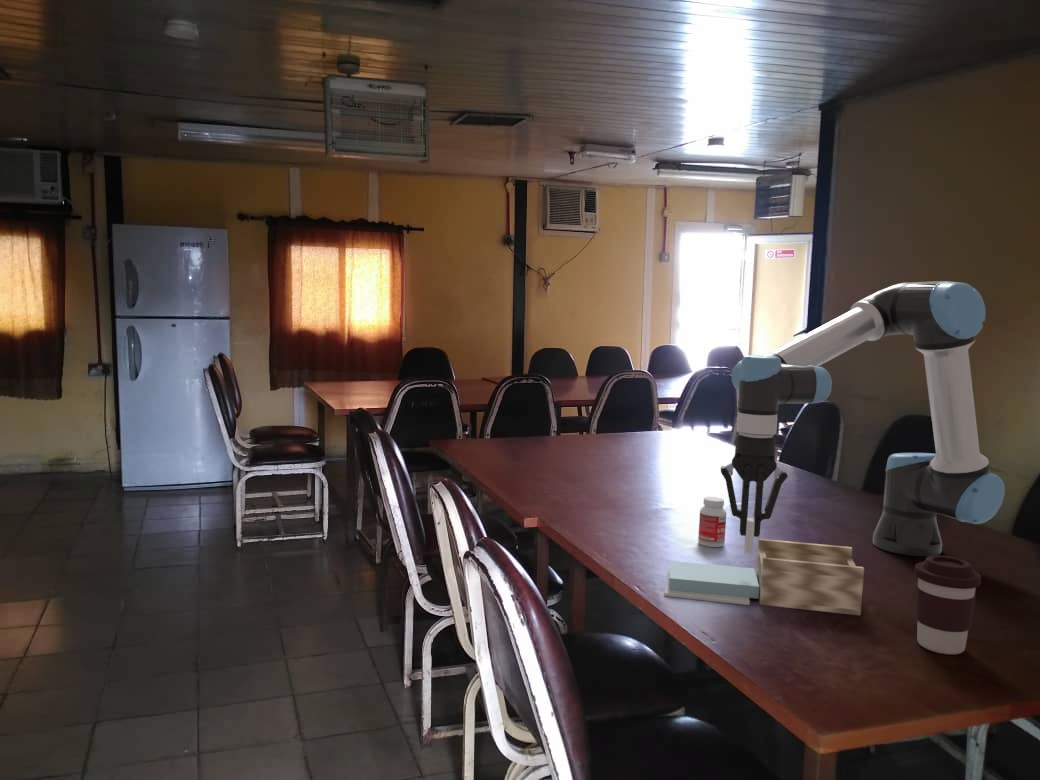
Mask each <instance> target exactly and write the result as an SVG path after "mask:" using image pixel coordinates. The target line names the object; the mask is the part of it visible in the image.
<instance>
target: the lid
mask: <svg viewBox="0 0 1040 780" xmlns="http://www.w3.org/2000/svg"><path fill="white" fill-rule="evenodd" d="M669 562H670V564H669V568H670V580H669V590H674V591H684V592H695V593H705V594H715V595H725V596H736V597H746V598H749V599H755V600H756V599H758V600H759V584H758V580H757V576H756V573H757V572H756V570H755V569H756V568H752V567H744V566H743V567H741V566H731V565H720V564H708V563H707V564H706V563H698V562H689V561H688V562H686V561H675V560H670V561H669Z"/></svg>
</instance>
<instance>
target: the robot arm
mask: <svg viewBox="0 0 1040 780" xmlns="http://www.w3.org/2000/svg"><path fill="white" fill-rule="evenodd" d="M985 320H986V305H985V302H984V299H983V296H982V295H981V293H979V291H978V290H977V289H976V288H974V287H973V286H972V285H970V284H968V283H966V282H958V281H952V280H951V281H949V280H940V281H939V280H938V281H905V282H900V283H896V284H893V285H890V286H887V287H885V288H882V289H881V290H878V291H875V292H874V293H872V294H870V295H868V296H866V297H863V298H861V299H860V300H859V301H857V302H855V303H852V305H851V307H850V309H849V311H847V312H845V313H843V314H841V315H839V316H838V317H836V318H833V319H831V320H830V321H828V322H826V323H824V324H822V325H820V326H819V327H817V328H815V329H813V330H811V331H809V332H808V333H806V334H804V335H801V336H800V337H797V338H796V339H794V340H792V341H790V342H788V343H786V344H785V345H783V346H781V347H778V348H777V349H775V350H773V351H772V352H770V353H767V354H765V355H759V354H758V355H757V354H751V355H750V354H747V355H745V356H744V357H743V358H742V359H741V360H740V361H738V362H737V363H736V364H735V365H734V367H733V369H732V370H731V371H732V372H731V383H732V385H733V387H734V388H735V389H736V391H738V404H737V415H736V416H737V418H736V420H737V421H736V431H737V433H738V434H737V433H736V435H735V446H734V448H735V449H734V456H733V458H732V459H731V462H730V463H729V464H727V465H722V466H721V467H720V474H721V475H722V476H723V478H724V480H725V485H726V489H727V494H728V500H729V505H730V511H731V516H733V517H737V518H739V520H740V521H739V534H740V536H743V537H744V553H745V554H748V555H751V554H752V555H753V552H754V538H755V537H756V538H758V537H760V535H761V523H762V521H763V520H770V519H771V517H772V514H773V511H774V508H775V505H776V502H777V499H778V496H779V493H780V490H781V488H782V485H783V483H784V482H785V481H786V480H787V478H788V476H789V475H788V473H787V471H786V470H782V468H780V467H779V466H778V464H777V462H776V458H775V457H776V441H777V438H776V437H775V436H774V435H776V434H777V430H778V414H779V405H785V404H788V405H789V404H795V405H797V404H798V405H799V404H800V405H801V404H802V405H803V404H808V405H812V404H819V403H823V402H825V401H826V400H827V399H828V398H829V397H830V395H831V393H832V387H833V386H832V385H833V380H832V377H831V375H830V373H829V371H828V370H827V369H826V368H824V367H822V365H824V364H825V363H827V362H829V361H831V360H833V359H835V358H836V357H838V356H840V355H842V354H844V353H845V352H848V351H849V350H851V349H853V348H855V347H858V346H859V345H861V344H862V343H865V342H866V341H868V342H869V341H870V342H874V341H878V340H880V339H881V338H883V337H884V338H885V337H886V336H891V335H893V336H894V335H910V336H913V344H914V348H915V349H916V350H917V351H918V352H920V353H921V354H922V355H923V360H924V366H925V376H926V385H927V391H928V393H927V394H928V401H929V409H930V416H931V422H932V423H931V424H932V432H933V441H934V447H935V448H934V449H935V453H931V452H899V453H892V454H890V455H889V456H888V458H887V462H886V468H885V474H884V475H885V476H884V478H885V479H884V492H883V507H882V514H881V516H880V518H879V521H878V522H877V524H876V527H875V530H874V531H873V534H872V544H873V545H874V546H875V547H876V548H878V549H881V550H883V551H886V552H890V553H893V554H897V555H898V554H899V555H903V556H909V557H910V556H911V557H929V556H935V555H939V556H940V555H941V554H942V553H943V552H942V550H943V541H942V537H941V534H940V530H939V526H938V522H937V514H938V515H942V516H943V517H948V518H952V519H955V520H957V521H958V522H961V523H969V524H973V525H981V524H984V523H986V522H989V520H991V519H993V518H994V517H995V515H997V513H998V511H999V509H1000V508H1001V506H1002V504H1003V502H1004V499H1005V491H1006V489H1005V483H1004V481H1003V479H1002V478H1000V476H999V475H997V474H995V473H994V472H993V473H992V472H991V470H990V461H989V459H988V457H986V456H985V455H983V454H982V453H981V452H980V451H981V450H980V444H979V443H980V442H979V435H978V427H977V416H976V409H975V407H976V406H975V400H974V392H973V391H974V390H973V382H972V381H973V380H972V374H971V373H972V371H971V364H970V355H969V349H970V348H971V346H972V345H973V344H974V343H975V342H976V336H977V335H978V334H979V333H980V332H981V330H982V329H983V327H984V324H983V323H984V322H985ZM734 470H735V472H736V473H737V474H738V476H739V477H740V479H741V480H742V486H741V488H742V489H741V504H740V509H739V508H738V503H737V500H736V499H737V497H736V493H735V489H734V484H733V478H732V476H733V475H734ZM773 473H774V474H773ZM772 474H773V478H774V481H773V484H772V486H771V488H770V489H771V490H770V492H769V495H768V498H767V501H766V503H765V507H764V510H762V508H763V495H764V494H763V492H764V482H765V481H766V480H768V478H769V477H770V476H771V475H772ZM751 482H755V493H754V495H755V496H754V510H753V511H754V512H753V517H748V515H749V513H748V512H749V501H750V500H749V499H750V487H751V486H750V485H751Z"/></svg>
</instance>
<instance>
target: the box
mask: <svg viewBox="0 0 1040 780" xmlns="http://www.w3.org/2000/svg"><path fill="white" fill-rule="evenodd" d="M757 547H758V548H757V559H756V560H757V561H756V572H755V573H756V576H757V580H758V584H759V598H758V600H759V605H762V606H769V607H770V606H771V607H778V608H789V609H797V610H804V611H805V610H807V611H816V612H817V611H818V612H827V613H835V614H844V615H852V616H861V611H862V598H863V587H864V576H865V575H864V574H865V568H864V566H857V565H856V563H855V562H854V560H853V558H852V557H853V547H851V546H845V545H844V546H841V545H832V544H823V543H822V544H819V543H810V542H800V541H788V540H776V539H765V538H758V544H757Z"/></svg>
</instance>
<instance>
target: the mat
mask: <svg viewBox="0 0 1040 780" xmlns="http://www.w3.org/2000/svg"><path fill="white" fill-rule="evenodd" d="M665 580H666V582H665V587H664V588H665V589H664V594H663V595H664V597H671V598H681V599H689V600H696V601H697V600H699V601H707V602H716V603H717V602H718V603H726V604H735V605H744V606H750V604H751V603H750V602H751V601H750V598H746V597H736V596H725V595H715V594H705V593H695V592H684V591H674V590H669V580H670V567H668V568H667V573H666V579H665Z"/></svg>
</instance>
